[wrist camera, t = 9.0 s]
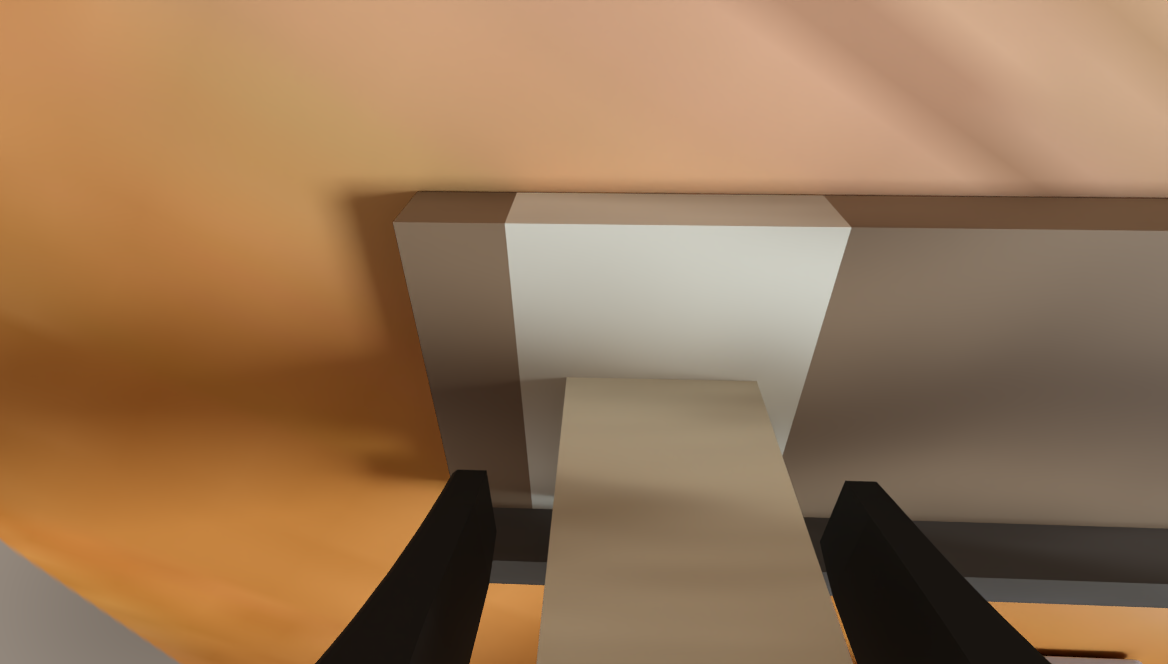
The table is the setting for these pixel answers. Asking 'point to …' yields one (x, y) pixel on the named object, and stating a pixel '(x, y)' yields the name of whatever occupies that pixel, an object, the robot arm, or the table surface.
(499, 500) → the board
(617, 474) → the block
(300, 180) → the table surface
